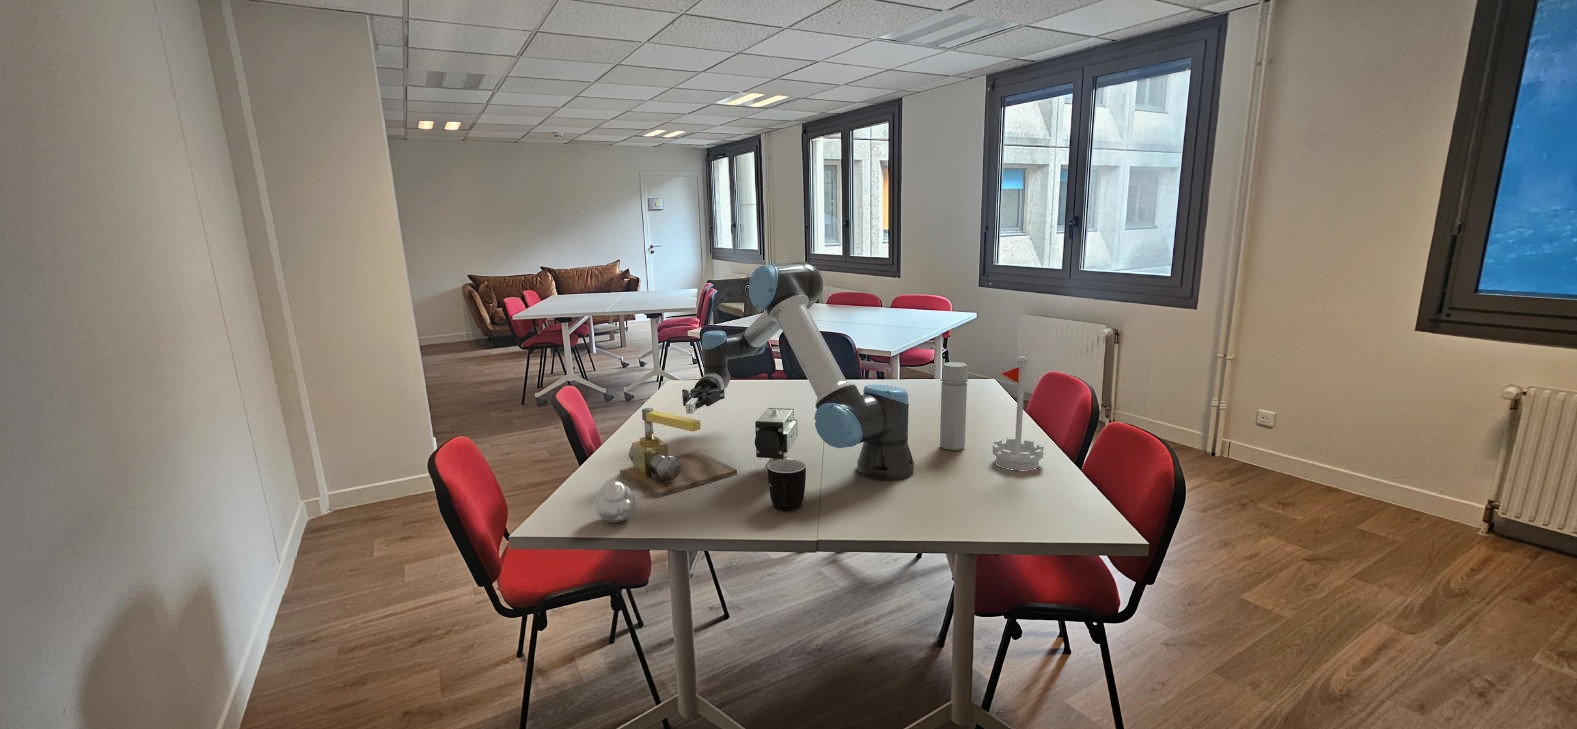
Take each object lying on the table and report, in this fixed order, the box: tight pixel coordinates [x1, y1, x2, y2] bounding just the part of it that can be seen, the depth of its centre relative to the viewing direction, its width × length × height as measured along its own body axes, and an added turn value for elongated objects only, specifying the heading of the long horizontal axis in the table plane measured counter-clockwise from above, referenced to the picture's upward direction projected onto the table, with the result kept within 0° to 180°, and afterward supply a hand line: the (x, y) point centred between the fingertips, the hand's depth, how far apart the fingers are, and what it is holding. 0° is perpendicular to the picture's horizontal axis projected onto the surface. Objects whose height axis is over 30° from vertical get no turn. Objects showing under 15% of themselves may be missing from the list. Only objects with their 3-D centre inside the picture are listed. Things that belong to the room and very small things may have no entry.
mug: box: [767, 459, 807, 512], centre depth 154 cm, size 12×9×10 cm
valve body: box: [628, 420, 681, 483], centre depth 174 cm, size 7×17×14 cm, turn 38°
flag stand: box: [992, 355, 1044, 470], centre depth 177 cm, size 13×13×30 cm
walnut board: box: [619, 450, 738, 499], centre depth 178 cm, size 24×21×1 cm
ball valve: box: [754, 407, 799, 476], centre depth 176 cm, size 18×8×18 cm, turn 168°
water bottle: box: [939, 361, 969, 452], centre depth 193 cm, size 9×8×25 cm
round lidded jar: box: [594, 480, 637, 524], centre depth 149 cm, size 9×10×10 cm
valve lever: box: [641, 407, 701, 433], centre depth 169 cm, size 20×3×3 cm, turn 53°
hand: (689, 408), depth 179 cm, fingers closed
